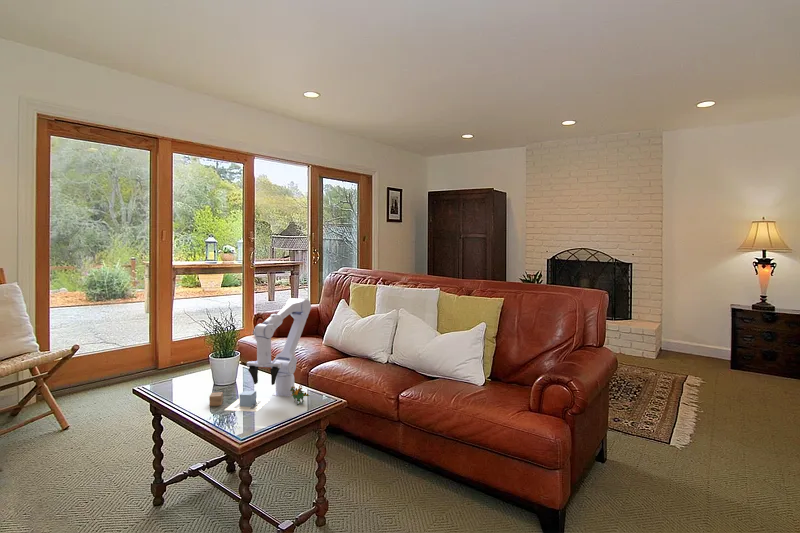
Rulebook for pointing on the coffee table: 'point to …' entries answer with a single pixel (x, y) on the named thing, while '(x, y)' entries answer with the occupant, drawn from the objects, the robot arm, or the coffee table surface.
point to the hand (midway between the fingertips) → (264, 383)
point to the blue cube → (247, 398)
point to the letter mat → (255, 407)
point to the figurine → (298, 394)
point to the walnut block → (216, 399)
